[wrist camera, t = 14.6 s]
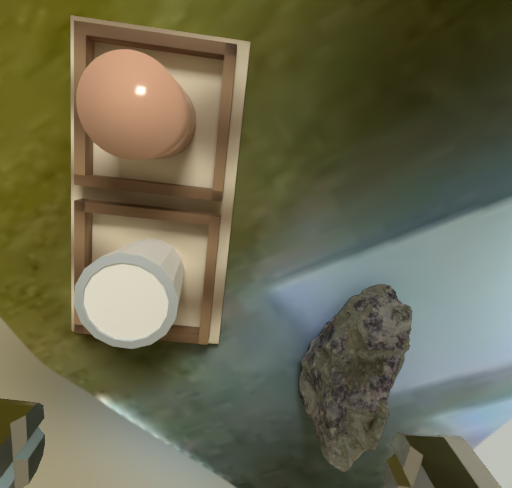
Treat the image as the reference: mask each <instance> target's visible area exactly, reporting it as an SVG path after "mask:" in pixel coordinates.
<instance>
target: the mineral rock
mask: <svg viewBox="0 0 512 488" xmlns="http://www.w3.org/2000/svg"><path fill="white" fill-rule="evenodd" d="M411 320H412V310H411V308H410V306H408V305H406V304H402V303H401V302H400V301H399V300H398V299H397V296H396V292H395V291H394V290H393V289H392V288H391V286H389V285H384V284H379V285H374V286H371V287H368V288H367V289H365V290H363V291H362V292H361V294H360V295H355V296H352V297H351V298H350V299H349V300H348V301H347V302H346V304H345V305H344V307H343V308H342V309H341V311H340V312H339V313H338V314H337V315H335V316H334V317H333V318H332V319H331V321H329V322H327V323H326V324H325V325H324V327H323V331H322V333H321V334H320V335H319V337H316V338H315V339H313V340H312V342H311V345H310V346H311V347H310V349H309V350H308V352H307V353H306V354H305V355H304V356H303V357H302V360H301V364H302V368H303V370H302V372H301V374H300V379H299V393H300V397H301V398H302V401H303V405H304V407H305V413H306V414H307V415H308V416H309V418H310V419H311V420H313V421H314V424H315V425H316V429H315V430H316V432H317V439H318V440H319V441H320V443H321V452H322V454H323V456H324V458H325V459H326V461H328V462H329V463H330V464H331V465H333V466H334V467H335V468H337V469H338V470H341V471H343V472H346V471H347V470H348V469H349V468H350V467H351V466H352V464H353V463H354V461H355V460H356V459H358V458H359V457H360V455H361V454H362V453H363V452H364V451H366V450H369V449H373V450H375V449H376V447H377V445H378V443H379V441H380V439H381V437H382V434H383V429H384V426H385V423H386V419H387V417H388V416H389V409H388V402H387V400H388V397H389V393H390V389H391V388H392V386H393V384H394V381H395V378H396V377H397V375H398V373H399V371H400V369H401V367H402V365H403V362H404V353H405V352H406V351H407V350H409V347H410V345H409V340H410V338H409V334H410V331H411Z"/></svg>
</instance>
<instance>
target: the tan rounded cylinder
mask: <svg viewBox="0 0 512 488" xmlns="http://www.w3.org/2000/svg"><path fill="white" fill-rule="evenodd" d="M76 106H77V112H78V116H79V119H80V122H81V124H82V126H83V128H84V130H85V131H86V133H87V135H88V136H89V137H90V138H91V140H92V141H93V142H94V143H95V144H96V145H97V146H99V147H100V148H101V149H102V150H104V151H106V152H107V153H109V154H111V155H113V156H116V157H119V158H123V159H132V160H140V159H166V158H171V157H173V156H176V155H177V154H179V153H181V152H182V151H183V150H184V149H185V148H186V147H187V146H188V145H189V144H190V142H191V140H192V138H193V136H194V133H195V130H196V112H195V108H194V106H193V103H192V101H191V99H190V97H189V96H188V94H187V93H186V92H185V91H184V90H183V88H182V87H181V86H180V85H179V84H178V83H177V81H176V80H175V79H174V78H173V77H172V76H171V74H170V73H169V72H168V71H167V70H166V69H165V67H164V66H163V65H161V64H160V63H159V62H158V61H157V60H155V59H154V58H152V57H151V56H149V55H147V54H145V53H142V52H139V51H135V50H129V49H119V50H113V51H109V52H107V53H104V54H102V55H100V56H99V57H97V58H96V59H94V60H93V61H92V62H91V63H90V64H89V65H88V66H87V68H86V69H85V70H84V72H83V74H82V76H81V78H80V80H79V83H78V87H77V92H76Z"/></svg>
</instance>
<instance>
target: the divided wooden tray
mask: <svg viewBox="0 0 512 488" xmlns="http://www.w3.org/2000/svg"><path fill="white" fill-rule="evenodd" d="M119 49H129V50H135V51H139V52H142V53H145V54H147V55H149V56H151V57H152V58H154V59H155V60H157V61H158V62H159V63H160V64H161V65H163V66H164V67H165V69H166V70H167V71H168V72H169V73H170V74H171V76H172V77H173V78H174V79H175V80H176V81H177V83H178V84H179V85H180V86H181V87H182V88H183V90H184V91H185V92H186V93H187V94H188V96H189V97H190V99H191V101H192V103H193V106H194V108H195V112H196V130H195V133H194V136H193V138H192V140H191V142H190V144H189V145H188V146H187V147H186V148H185V149H184V150H183V151H182V152H181V153H179V154H177V155H176V156H173V157H171V158H166V159H140V160H132V159H123V158H119V157H116V156H113V155H111V154H109V153H107V152H106V151H104V150H102V149H101V148H100V147H99V146H97V145H96V144H95V143H94V142H93V141H92V140H91V138H90V137H89V136H88V135H87V133H86V131H85V130H84V128H83V126H82V124H81V122H80V119H79V116H78V112H77V106H76V92H77V87H78V83H79V80H80V78H81V76H82V74H83V72H84V70H85V69H86V68H87V66H88V65H89V64H90V63H91V62H92V61H93V60H94V59H96V58H97V57H99V56H100V55H102V54H104V53H107V52H109V51H113V50H119ZM249 51H250V42H248V41H242V40H235V39H228V38H221V37H214V36H207V35H201V34H194V33H187V32H180V31H173V30H167V29H160V28H153V27H146V26H139V25H133V24H126V23H119V22H112V21H105V20H98V19H92V18H85V17H78V16H71V294H72V331H74V333H79V334H91V333H90V332H89V331H88V330H87V329H86V328H85V327H84V326H83V325H82V323H81V322H80V319H79V317H78V314H77V312H76V309H75V306H74V293H75V285H76V283H77V281H78V279H79V277H80V276H81V274H82V272H83V270H84V269H85V268H86V267H87V266H89V265H90V264H92V263H93V262H94V261H96V260H97V259H98V258H100V257H102V256H104V255H106V254H108V253H111V252H113V251H115V250H117V249H119V248H122V247H124V246H126V245H128V244H131V243H133V242H135V241H138V240H143V239H147V238H150V239H157V240H162V241H164V242H166V243H167V244H169V245H171V246H172V247H174V248H175V250H176V251H177V252H178V254H179V255H180V256H181V257H182V261H183V264H184V268H185V272H184V279H183V285H182V290H181V295H180V301H179V306H178V311H177V316H176V320H175V321H174V323H173V324H172V326H171V328H170V329H169V331H168V332H167V334H166V335H164V336H163V337H161V338H160V339H159V341H171V342H182V343H194V344H205V345H208V343H213V344H219V335H220V325H221V316H222V306H223V297H224V288H225V278H226V269H227V259H228V250H229V240H230V231H231V221H232V212H233V202H234V193H235V183H236V174H237V164H238V155H239V145H240V136H241V126H242V117H243V108H244V98H245V89H246V79H247V70H248V60H249ZM91 335H92V334H91Z"/></svg>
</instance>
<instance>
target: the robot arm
mask: <svg viewBox="0 0 512 488" xmlns="http://www.w3.org/2000/svg"><path fill="white" fill-rule="evenodd" d="M43 419H44V409H43V405H42V404H40V403H36V402H27V401H18V400H8V399H0V488H23V487H24V486H26V485H28V484H29V483H30V481H31V479H32V477H33V476H34V474H35V473H36V471H37V469H38V466H39V464H40V461H41V458H42V456H43V450H44V445H45V435H44V433H43V432H42V431H41V430H40V428H39V427H38V426H39V424H40V423H41V422H42V420H43ZM391 446H392V448H393V450H394V452H395V454H394V455H393V456H392V457H390V458H389V459H388V460H387V462H386V466H385V470H384V486H385V488H501V486H500V485H499V484H498V482H497V481H496V480H495V478H494V477H493V476H492V474H491V473H490V472H489V471H488V469H487V468H486V467H485V465H484V464H483V463H482V461H481V460H480V459H479V457H478V456H477V455H476V454H475V452H474V451H473V450H472V448H471V447H470V446H469V444H468V443H467V442H466V441H465V440H464V439H462V438H461V437H460V436H446V435H438V436H437V435H427V434H414V433H400V432H398V433H397V434H396V435H395V436H394V438H393V441H392V445H391Z"/></svg>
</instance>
